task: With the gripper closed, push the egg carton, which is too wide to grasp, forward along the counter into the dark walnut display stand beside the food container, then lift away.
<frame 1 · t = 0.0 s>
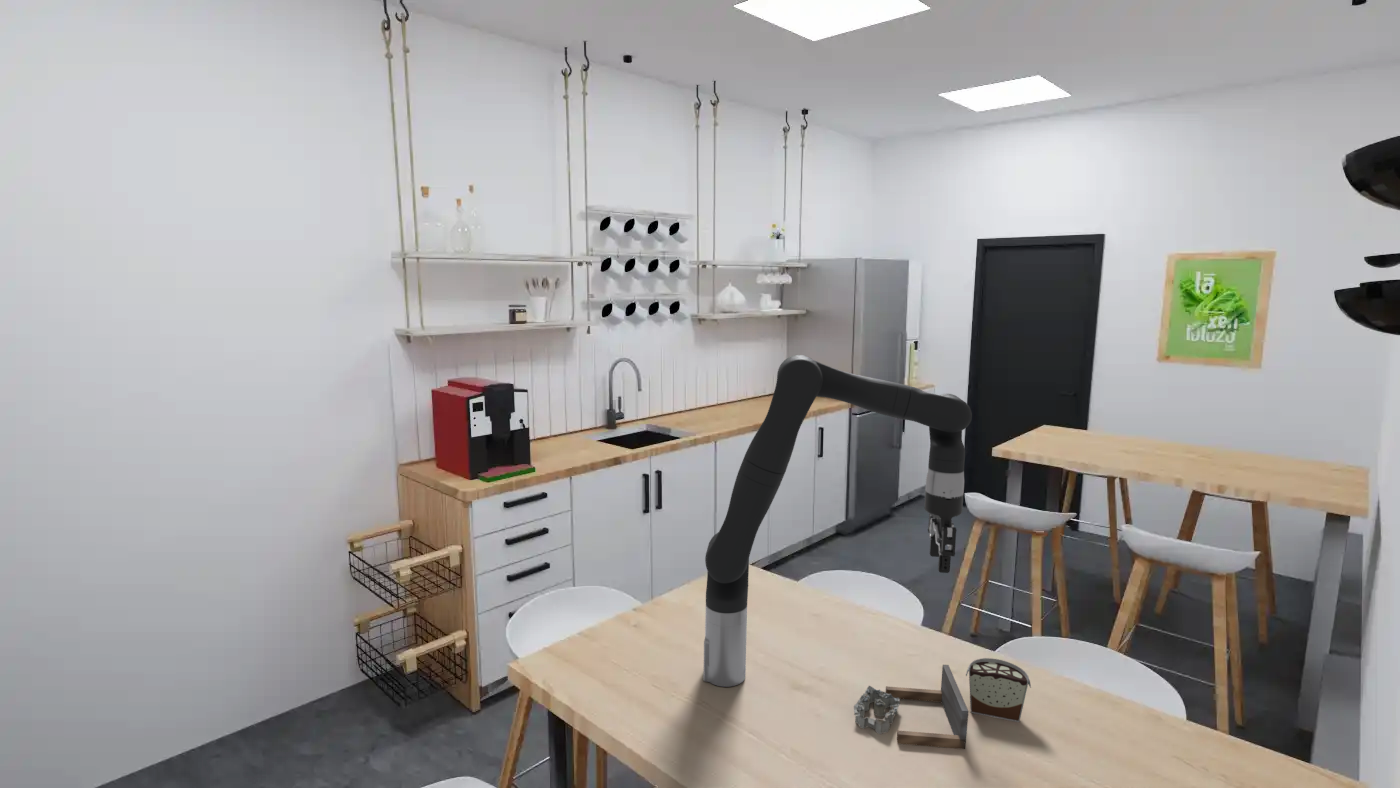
hand: (939, 563, 151), 29 cm above the table, tool pointing down, fingers open, 8 cm apart
display stand: (921, 720, 145), on the table
egg carton: (876, 718, 146), on the table
food container: (993, 709, 149), on the table
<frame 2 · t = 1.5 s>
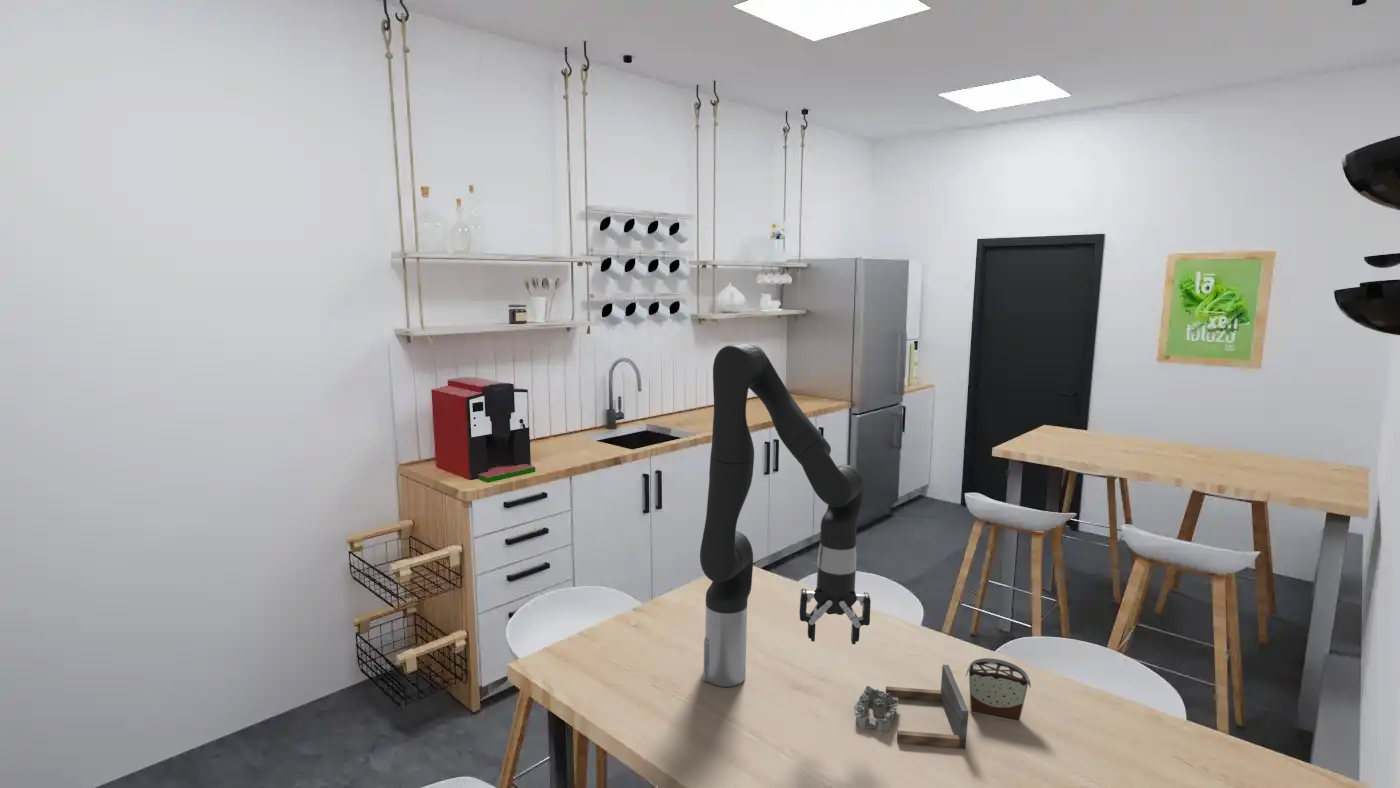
hand: (833, 641, 145), 16 cm above the table, tool pointing down, fingers open, 7 cm apart
nothing on the table moved.
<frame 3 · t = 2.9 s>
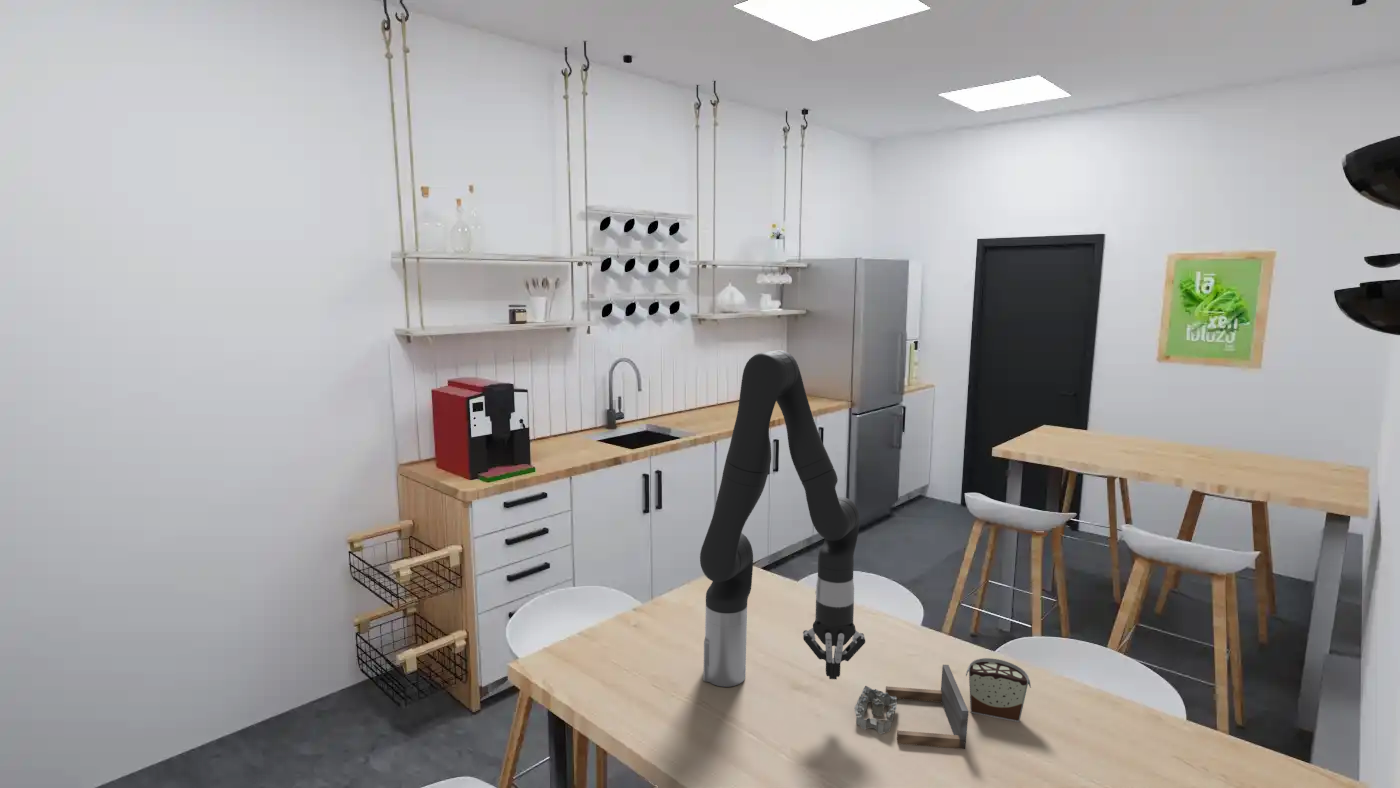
hand: (832, 677, 145), 8 cm above the table, tool pointing down, fingers closed
nothing on the table moved.
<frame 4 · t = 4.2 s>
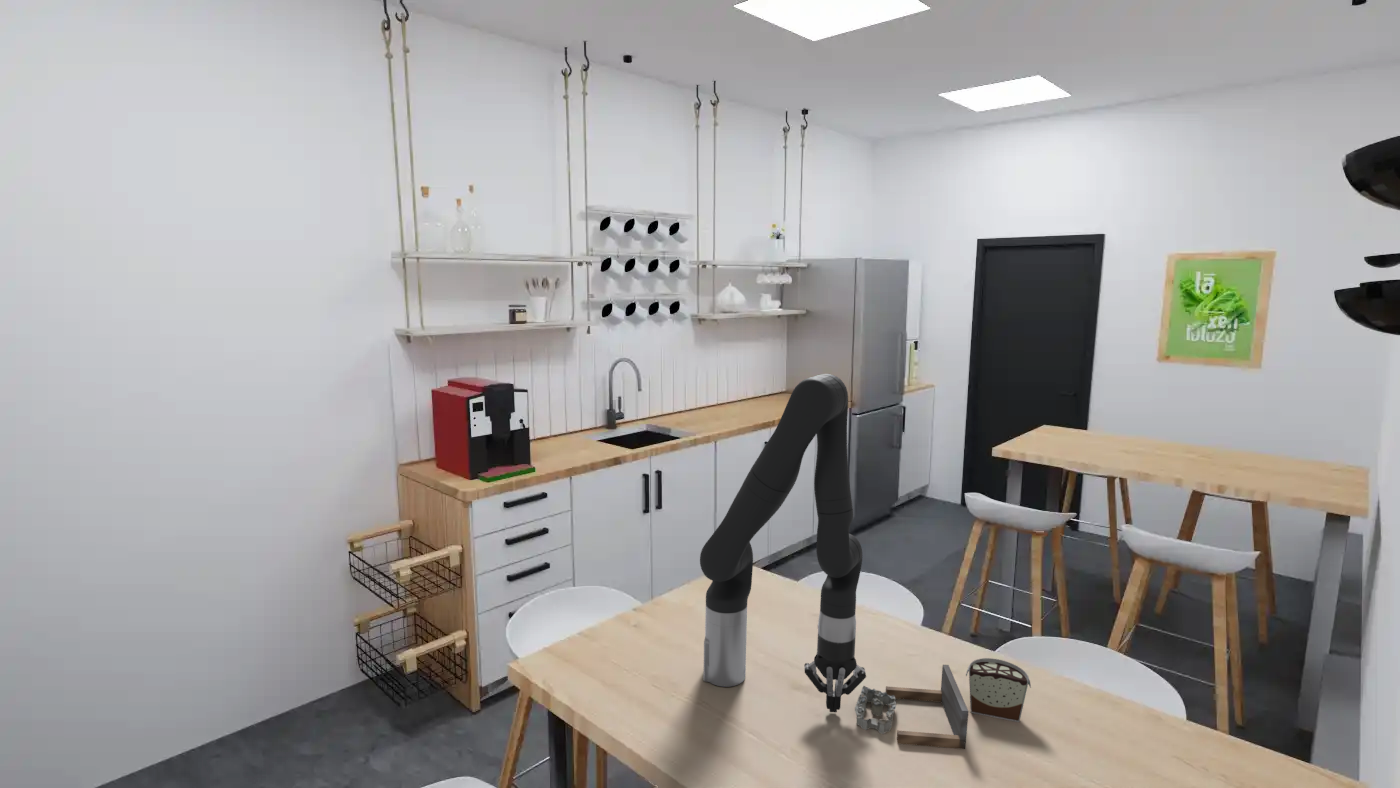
hand: (833, 709, 147), 1 cm above the table, tool pointing down, fingers closed
nothing on the table moved.
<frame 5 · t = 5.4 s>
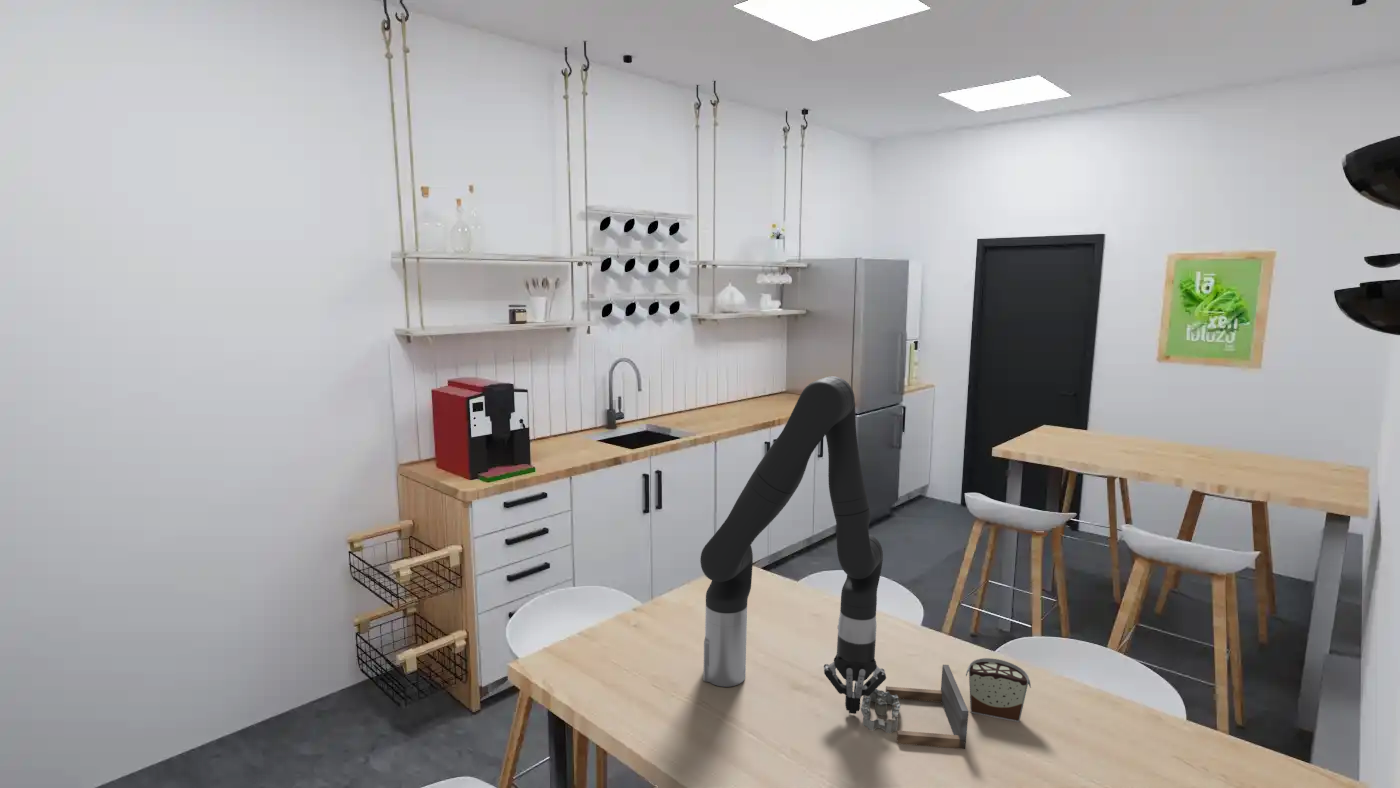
hand: (852, 711, 146), 1 cm above the table, tool pointing down, fingers closed
egg carton: (879, 718, 146), on the table, touching gripper
everything else where it was.
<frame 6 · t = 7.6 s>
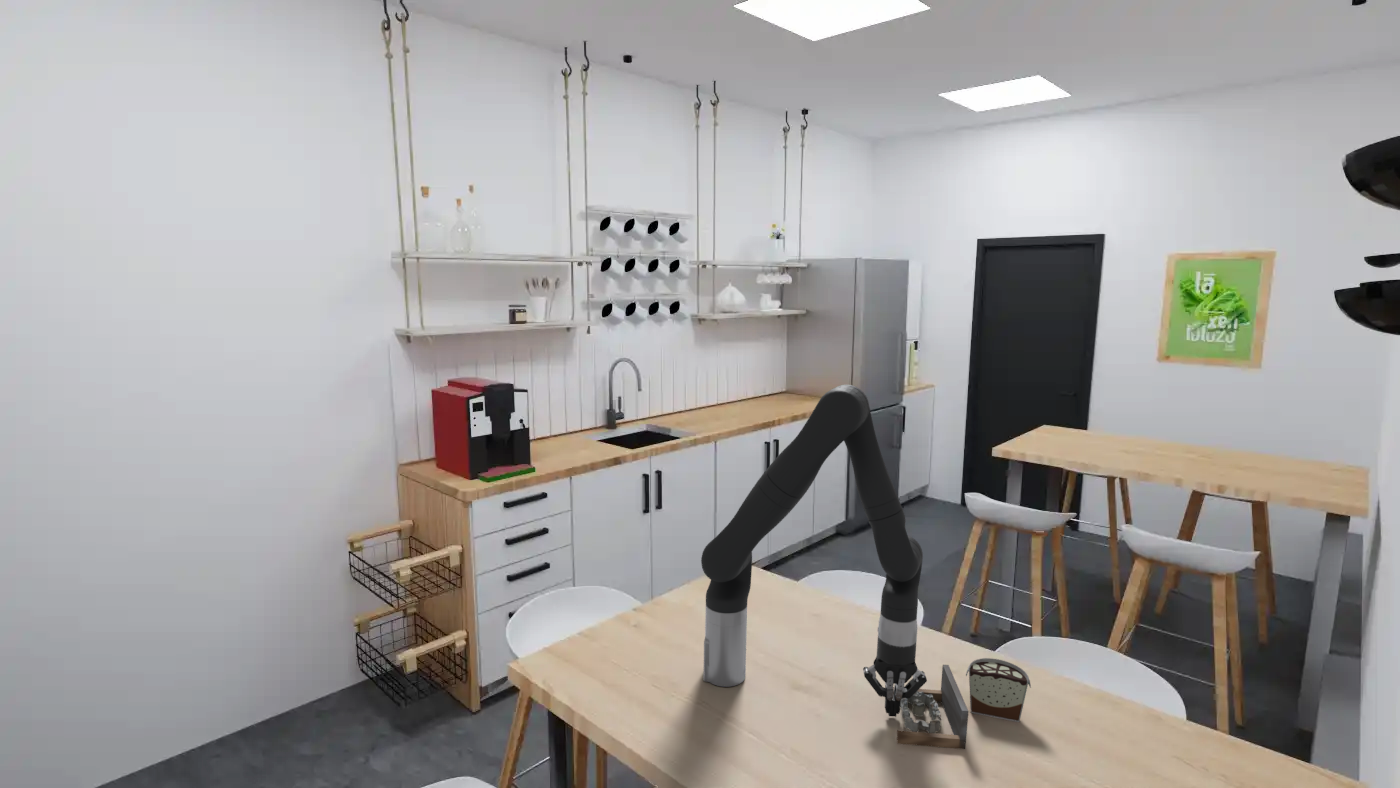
hand: (892, 714, 146), 1 cm above the table, tool pointing down, fingers closed
egg carton: (918, 719, 146), on the table
everything else where it was.
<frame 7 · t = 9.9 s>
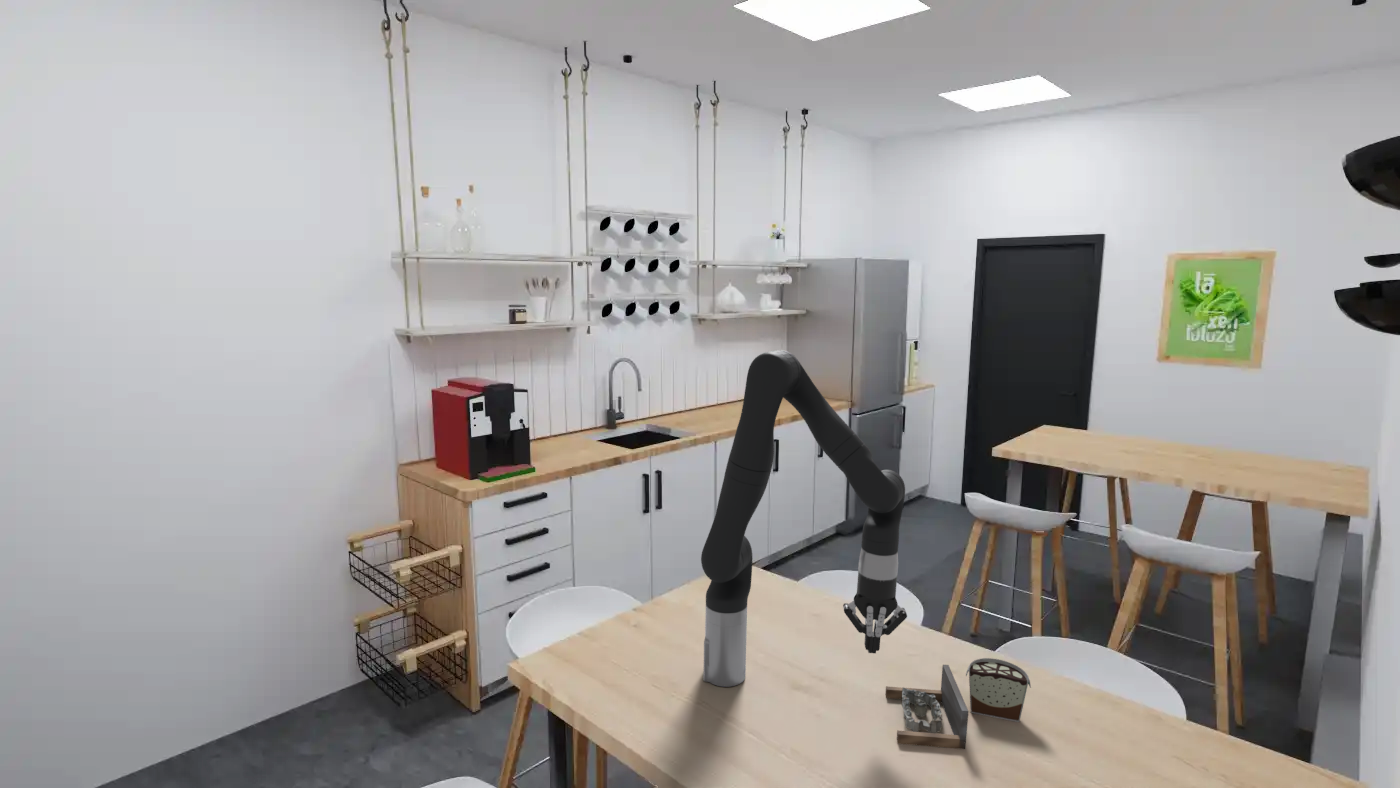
hand: (871, 651, 144), 14 cm above the table, tool pointing down, fingers closed
nothing on the table moved.
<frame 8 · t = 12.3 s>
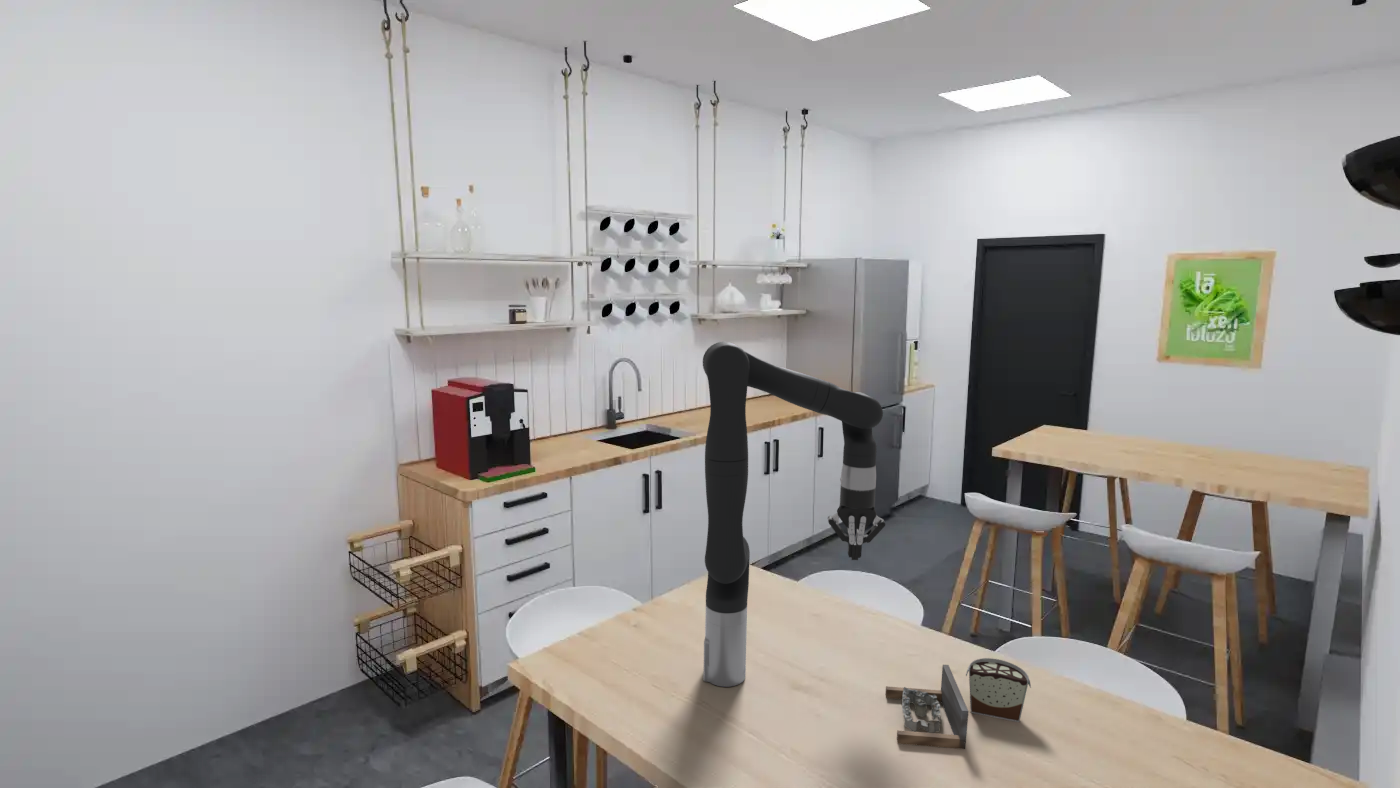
hand: (854, 558, 159), 27 cm above the table, tool pointing down, fingers closed
nothing on the table moved.
at the end: egg carton inside the target area (1.1 cm from its centre), on the table; egg carton tilted 0°; food container moved 0.2 cm from its start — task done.
